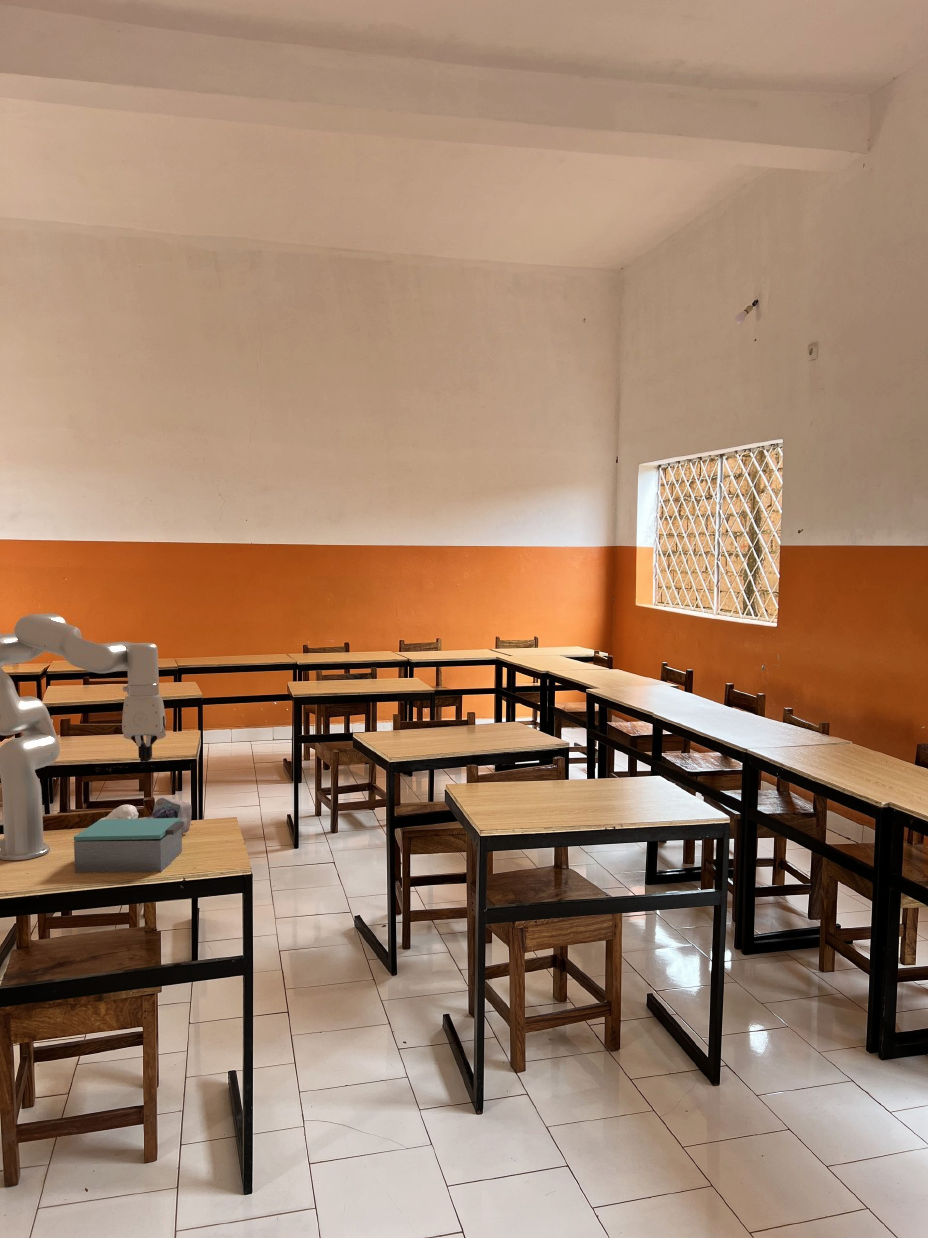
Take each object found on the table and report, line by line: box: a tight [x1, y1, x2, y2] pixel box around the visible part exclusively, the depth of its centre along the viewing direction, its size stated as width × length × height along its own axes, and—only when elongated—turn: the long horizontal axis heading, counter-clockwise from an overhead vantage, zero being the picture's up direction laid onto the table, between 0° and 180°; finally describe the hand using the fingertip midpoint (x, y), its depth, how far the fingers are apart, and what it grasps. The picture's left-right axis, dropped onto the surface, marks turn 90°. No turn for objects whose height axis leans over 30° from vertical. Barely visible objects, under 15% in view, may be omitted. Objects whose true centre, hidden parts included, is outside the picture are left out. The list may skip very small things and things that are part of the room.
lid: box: [73, 818, 184, 842], centre depth 236 cm, size 24×16×1 cm, turn 89°
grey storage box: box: [73, 829, 183, 874], centre depth 236 cm, size 22×16×8 cm
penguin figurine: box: [98, 804, 139, 821], centre depth 263 cm, size 6×8×12 cm
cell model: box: [136, 797, 193, 834], centre depth 256 cm, size 13×11×20 cm
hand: (145, 760), depth 235 cm, fingers closed
